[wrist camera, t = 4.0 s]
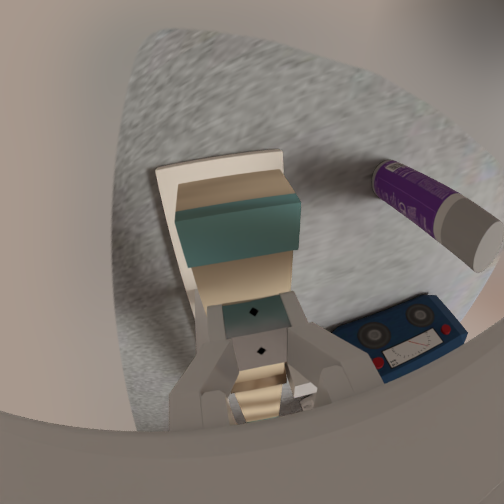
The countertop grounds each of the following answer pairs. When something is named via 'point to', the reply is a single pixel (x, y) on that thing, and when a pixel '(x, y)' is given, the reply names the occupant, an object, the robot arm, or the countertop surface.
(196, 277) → the beam
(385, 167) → the container
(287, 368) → the stand
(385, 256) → the countertop surface
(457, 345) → the radio
